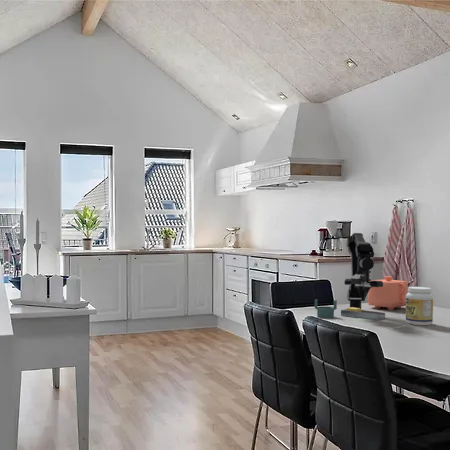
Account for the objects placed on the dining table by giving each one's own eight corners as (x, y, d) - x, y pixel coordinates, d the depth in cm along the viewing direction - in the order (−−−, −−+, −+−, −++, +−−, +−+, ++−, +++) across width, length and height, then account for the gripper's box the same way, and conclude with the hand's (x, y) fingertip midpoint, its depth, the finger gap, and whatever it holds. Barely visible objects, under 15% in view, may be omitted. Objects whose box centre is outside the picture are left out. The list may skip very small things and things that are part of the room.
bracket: (338, 318, 295) (338, 300, 295) (323, 319, 291) (323, 301, 291) (326, 316, 303) (326, 298, 303) (311, 317, 298) (312, 299, 298)
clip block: (360, 317, 301) (351, 316, 304) (360, 308, 301) (351, 307, 304) (355, 318, 298) (346, 317, 301) (355, 309, 298) (347, 308, 301)
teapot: (386, 303, 355) (386, 273, 355) (421, 308, 338) (421, 276, 338) (361, 307, 338) (362, 275, 338) (397, 311, 321) (397, 278, 321)
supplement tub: (400, 322, 286) (400, 286, 286) (420, 321, 291) (421, 286, 291) (417, 326, 275) (417, 289, 275) (438, 325, 280) (439, 288, 280)
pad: (357, 319, 293) (357, 318, 293) (374, 321, 287) (374, 320, 287) (347, 321, 287) (347, 320, 287) (364, 323, 281) (364, 322, 281)
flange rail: (350, 314, 308) (350, 308, 308) (385, 319, 294) (385, 312, 294) (340, 316, 301) (341, 310, 301) (376, 321, 288) (376, 314, 288)
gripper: (338, 268, 298) (338, 299, 298) (372, 270, 285) (371, 303, 285) (350, 267, 306) (350, 298, 306) (383, 269, 293) (383, 301, 293)
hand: (363, 300), depth 297 cm, fingers closed
